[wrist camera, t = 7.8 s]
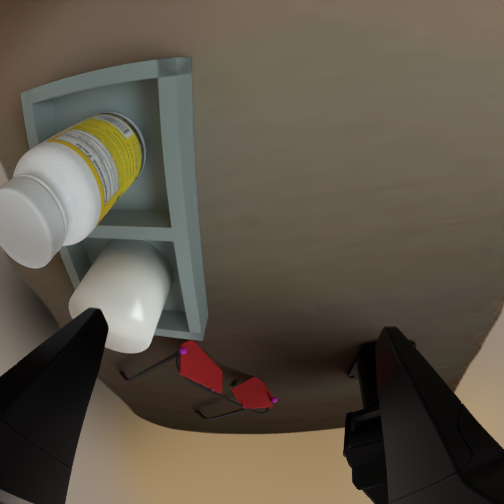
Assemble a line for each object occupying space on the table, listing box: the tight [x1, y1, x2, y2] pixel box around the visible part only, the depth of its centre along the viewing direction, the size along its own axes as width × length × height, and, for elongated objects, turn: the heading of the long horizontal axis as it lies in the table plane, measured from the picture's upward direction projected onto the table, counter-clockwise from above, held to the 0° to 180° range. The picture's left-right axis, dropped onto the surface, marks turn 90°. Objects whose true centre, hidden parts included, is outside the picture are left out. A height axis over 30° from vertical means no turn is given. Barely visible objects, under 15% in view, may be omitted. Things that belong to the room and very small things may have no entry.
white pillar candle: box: [69, 239, 173, 353], centre depth 21 cm, size 6×6×6 cm
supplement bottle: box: [0, 112, 146, 268], centre depth 13 cm, size 5×5×10 cm
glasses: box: [120, 340, 277, 421], centre depth 33 cm, size 14×16×5 cm
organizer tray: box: [21, 57, 208, 341], centre depth 20 cm, size 21×11×3 cm, turn 179°
